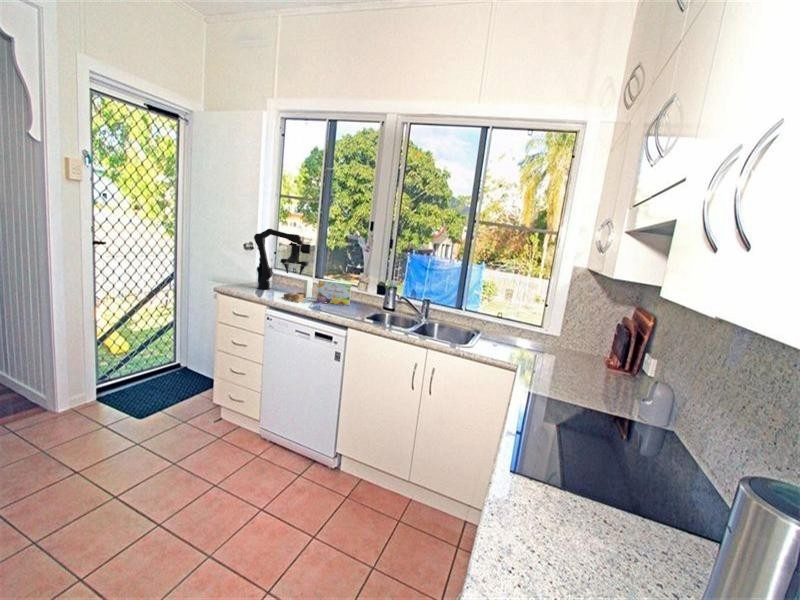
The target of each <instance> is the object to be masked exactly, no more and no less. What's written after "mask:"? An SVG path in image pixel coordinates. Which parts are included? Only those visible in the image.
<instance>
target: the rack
mask: <svg viewBox="0 0 800 600" xmlns="http://www.w3.org/2000/svg"><path fill="white" fill-rule="evenodd" d="M292 293H293V292H291V293H290V292H289V293H284V294H283V299H285V298H286V299H285V300H288V299H289V297H290V295H291V294H292ZM296 293H297V294H302V295H304V298H305V299H307V298H306V294H304V293H303V292H296Z"/></svg>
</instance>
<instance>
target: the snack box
mask: <svg viewBox="0 0 800 600" xmlns="http://www.w3.org/2000/svg"><path fill="white" fill-rule="evenodd" d="M351 292H352V282H347V281H339V280H331V279H330V280H329V279H323V278H322V279H318V286H317V294H316V295H317V296H316V297H317V298H316V303H320V302H327V303H326V304H328V303H334V304H333V305H336V304H342V305H341V306H344V305H349V306H350V301H351V295H352V294H351Z"/></svg>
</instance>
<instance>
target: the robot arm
mask: <svg viewBox="0 0 800 600" xmlns="http://www.w3.org/2000/svg"><path fill="white" fill-rule="evenodd" d="M269 236H275V237H278V238H282V239H285V240H288V241H290V243H288V246H291V252H290V254H289V255H290V256H289V257H288V258H281V259H280V261H279V263H280V264H281V263H282V265H283V266H284V268H285V272H286V274H289V268H290V267H289V265H290V264H296V265H297V264H298V265H300V267H299V268H300V269H299V276H301V275H302V273H303V270H304V269H305V268H307V266H309V261H306V260H301V261H300V255H301V254H307V255H311V250H312V249H311V248H312V247H311V244H309V243H308V244H307V243H303V240H302V236H301V235H299V234H295V233H287V232H283V231H281V230H276V229H273V228H267V229H266V230H264V231H262V232H260V233H255V234H254V236H253V239H254V241H255V244H256V246H257V248H258V252H259V256H260V262H261V266H262V268H261V275H260V276H259V277H258V287H257V289H258V290H264V291H267V290H270V285H271V284H270V279H271V278H272V277H273V274H274V271H273V267H270V265H269V261H268V255H267V252H266V246H265V245H266V239H267V238H268V237H269ZM300 253H301V254H300Z"/></svg>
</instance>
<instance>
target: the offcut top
mask: <svg viewBox="0 0 800 600" xmlns="http://www.w3.org/2000/svg"><path fill="white" fill-rule="evenodd" d="M291 293H292V294H291V295H290V298H294V299H303V298H304V295H302V294H297V293H298V292H291Z"/></svg>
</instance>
